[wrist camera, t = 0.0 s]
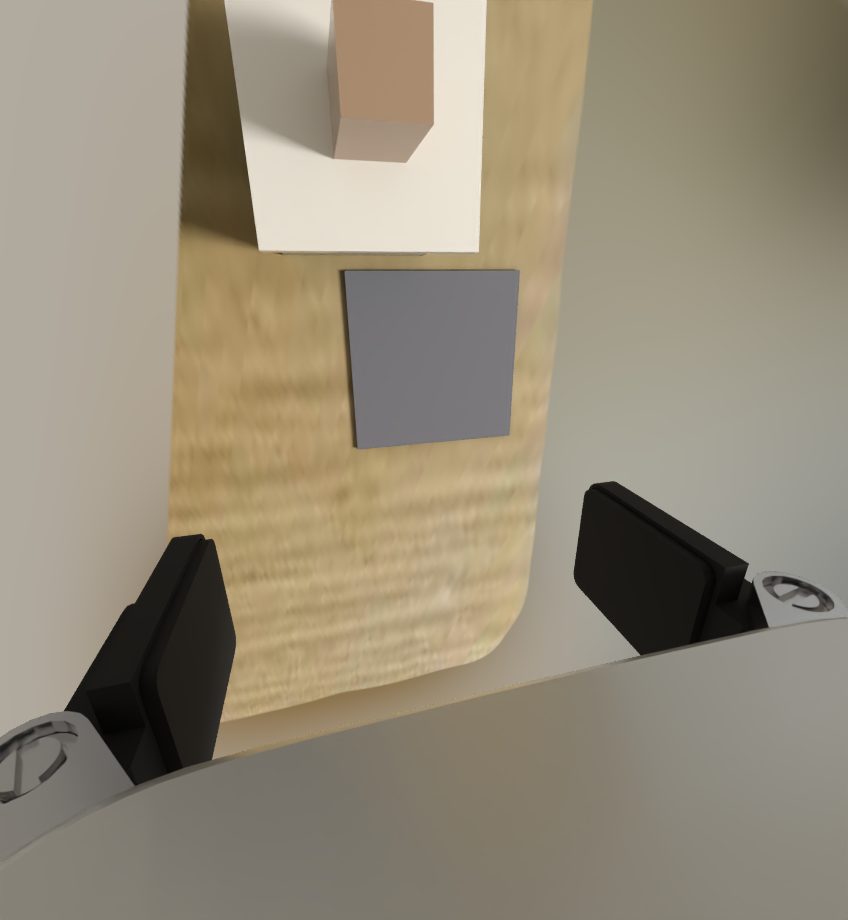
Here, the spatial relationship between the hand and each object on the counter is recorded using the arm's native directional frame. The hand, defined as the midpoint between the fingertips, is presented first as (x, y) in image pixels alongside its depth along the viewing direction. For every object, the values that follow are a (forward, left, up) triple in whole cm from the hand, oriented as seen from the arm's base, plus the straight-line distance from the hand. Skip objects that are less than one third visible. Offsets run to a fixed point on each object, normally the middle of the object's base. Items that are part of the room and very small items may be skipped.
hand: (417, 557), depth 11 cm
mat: (0, +9, -31) cm, 32 cm away
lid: (-15, +2, -20) cm, 25 cm away
